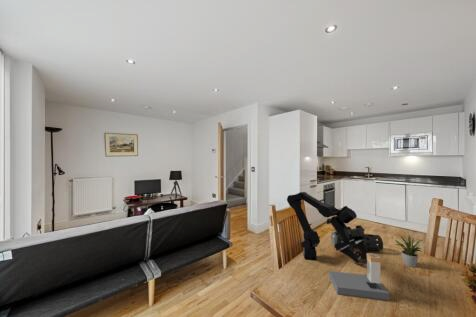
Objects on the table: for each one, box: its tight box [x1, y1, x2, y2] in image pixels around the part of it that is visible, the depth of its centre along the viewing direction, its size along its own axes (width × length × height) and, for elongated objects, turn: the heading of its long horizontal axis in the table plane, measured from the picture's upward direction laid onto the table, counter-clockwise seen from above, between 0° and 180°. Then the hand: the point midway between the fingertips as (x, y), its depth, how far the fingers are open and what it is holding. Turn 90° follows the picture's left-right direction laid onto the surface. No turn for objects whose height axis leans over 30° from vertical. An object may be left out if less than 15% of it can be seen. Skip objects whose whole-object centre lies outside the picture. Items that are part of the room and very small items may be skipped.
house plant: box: [392, 234, 425, 268], centre depth 104 cm, size 14×14×16 cm
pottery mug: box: [352, 248, 367, 266], centre depth 106 cm, size 12×10×8 cm
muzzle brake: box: [330, 230, 384, 252], centre depth 122 cm, size 10×28×10 cm, turn 78°
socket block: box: [328, 270, 390, 301], centre depth 85 cm, size 20×12×3 cm, turn 79°
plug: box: [366, 252, 382, 284], centre depth 82 cm, size 4×4×11 cm
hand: (364, 259), depth 85 cm, fingers open, 9 cm apart
